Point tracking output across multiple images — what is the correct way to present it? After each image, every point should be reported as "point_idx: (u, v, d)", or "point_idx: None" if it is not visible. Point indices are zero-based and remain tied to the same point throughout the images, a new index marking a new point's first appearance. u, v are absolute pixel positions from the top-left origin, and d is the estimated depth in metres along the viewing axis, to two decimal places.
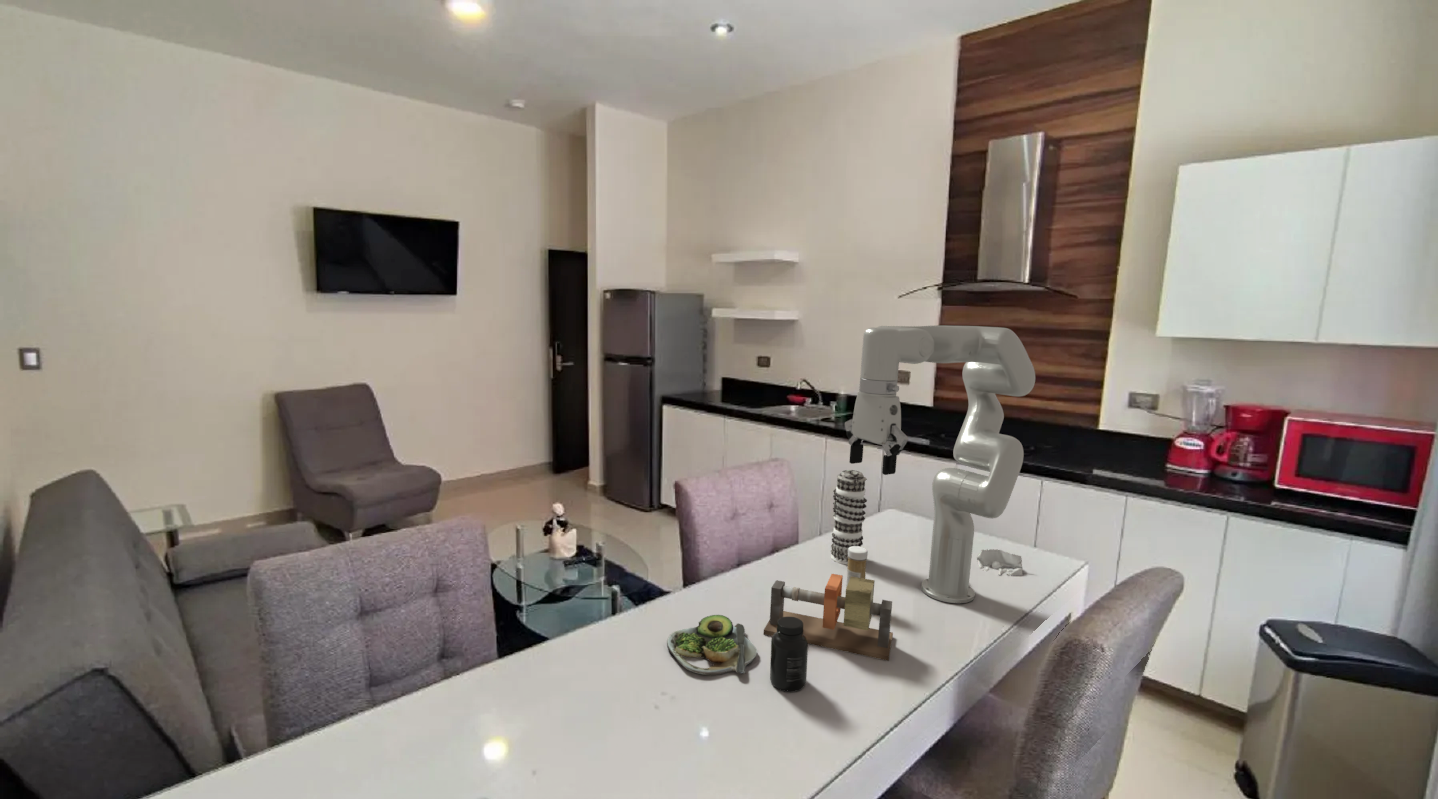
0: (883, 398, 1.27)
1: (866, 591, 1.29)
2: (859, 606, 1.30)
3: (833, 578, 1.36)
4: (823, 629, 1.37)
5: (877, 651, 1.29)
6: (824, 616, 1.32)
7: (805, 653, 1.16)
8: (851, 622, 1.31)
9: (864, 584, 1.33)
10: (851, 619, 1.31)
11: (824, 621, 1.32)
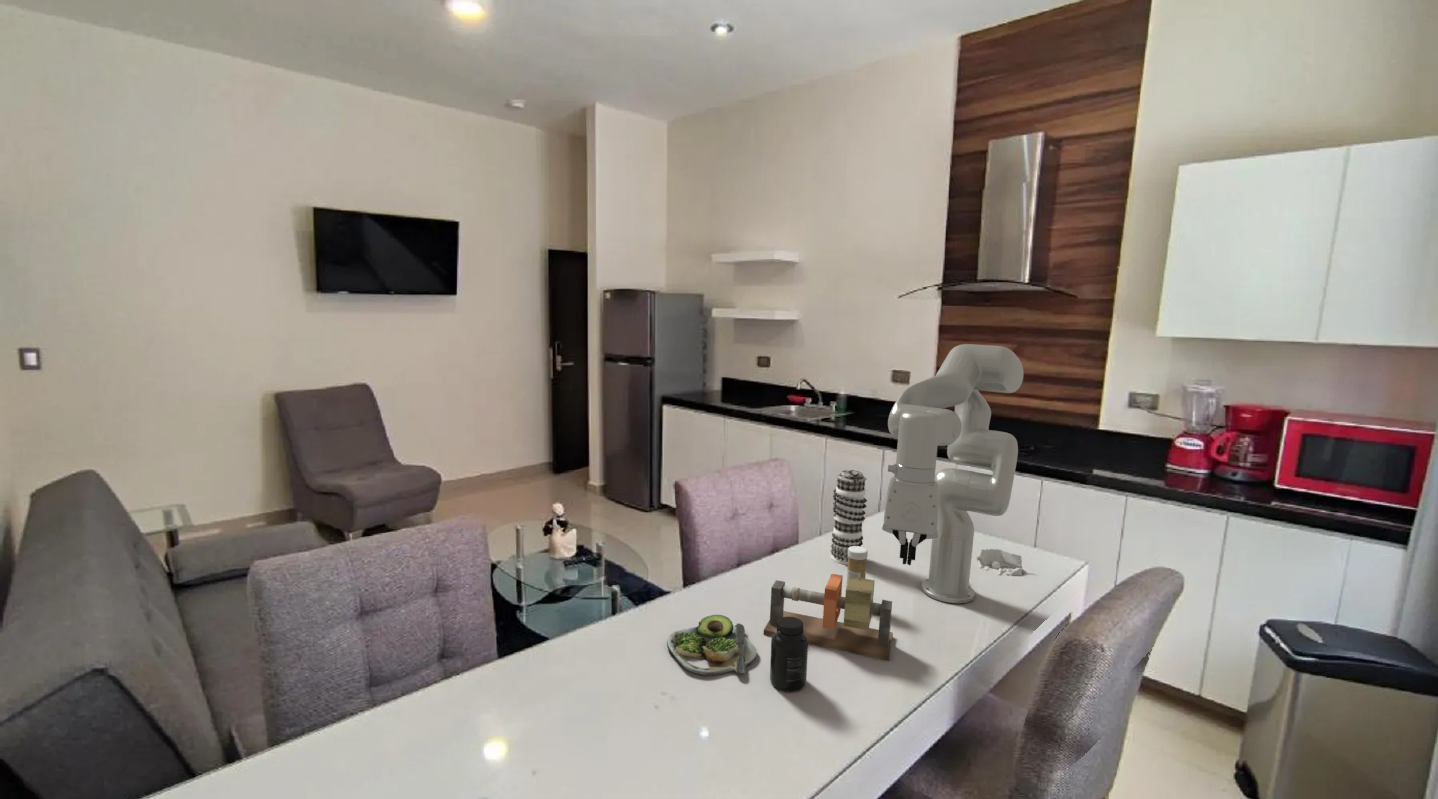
0: None
1: (866, 591, 1.29)
2: (859, 606, 1.30)
3: (833, 578, 1.36)
4: (823, 629, 1.37)
5: (877, 651, 1.29)
6: (824, 616, 1.32)
7: (805, 653, 1.16)
8: (851, 622, 1.31)
9: (864, 584, 1.33)
10: (851, 619, 1.31)
11: (824, 621, 1.32)
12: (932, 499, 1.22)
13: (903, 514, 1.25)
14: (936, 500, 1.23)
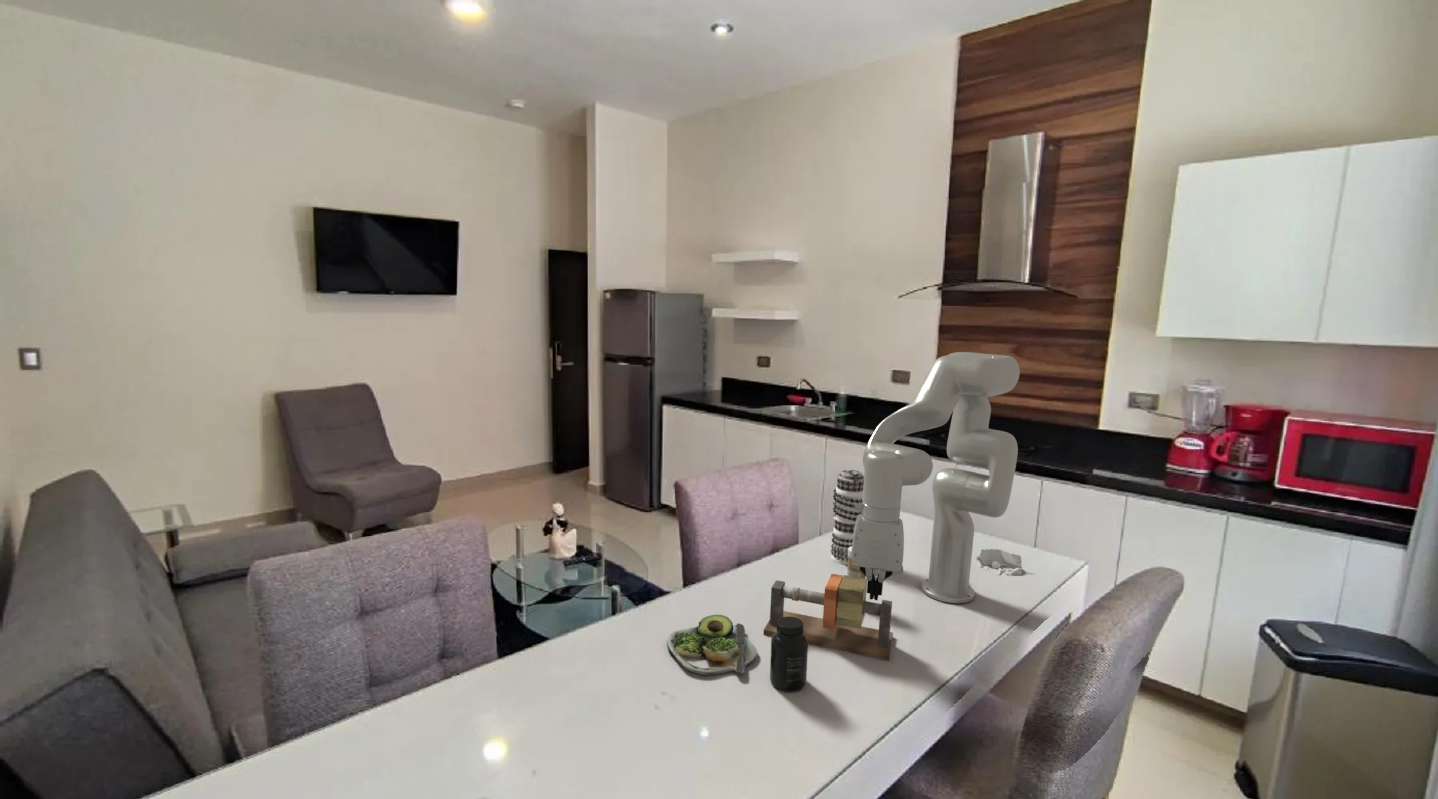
0: None
1: (859, 590, 1.30)
2: (852, 605, 1.30)
3: (833, 578, 1.36)
4: (823, 629, 1.37)
5: (877, 651, 1.29)
6: (824, 616, 1.32)
7: (805, 653, 1.16)
8: (844, 621, 1.31)
9: (857, 583, 1.33)
10: (844, 618, 1.31)
11: (824, 621, 1.32)
12: (897, 538, 1.26)
13: (869, 552, 1.28)
14: (901, 539, 1.26)
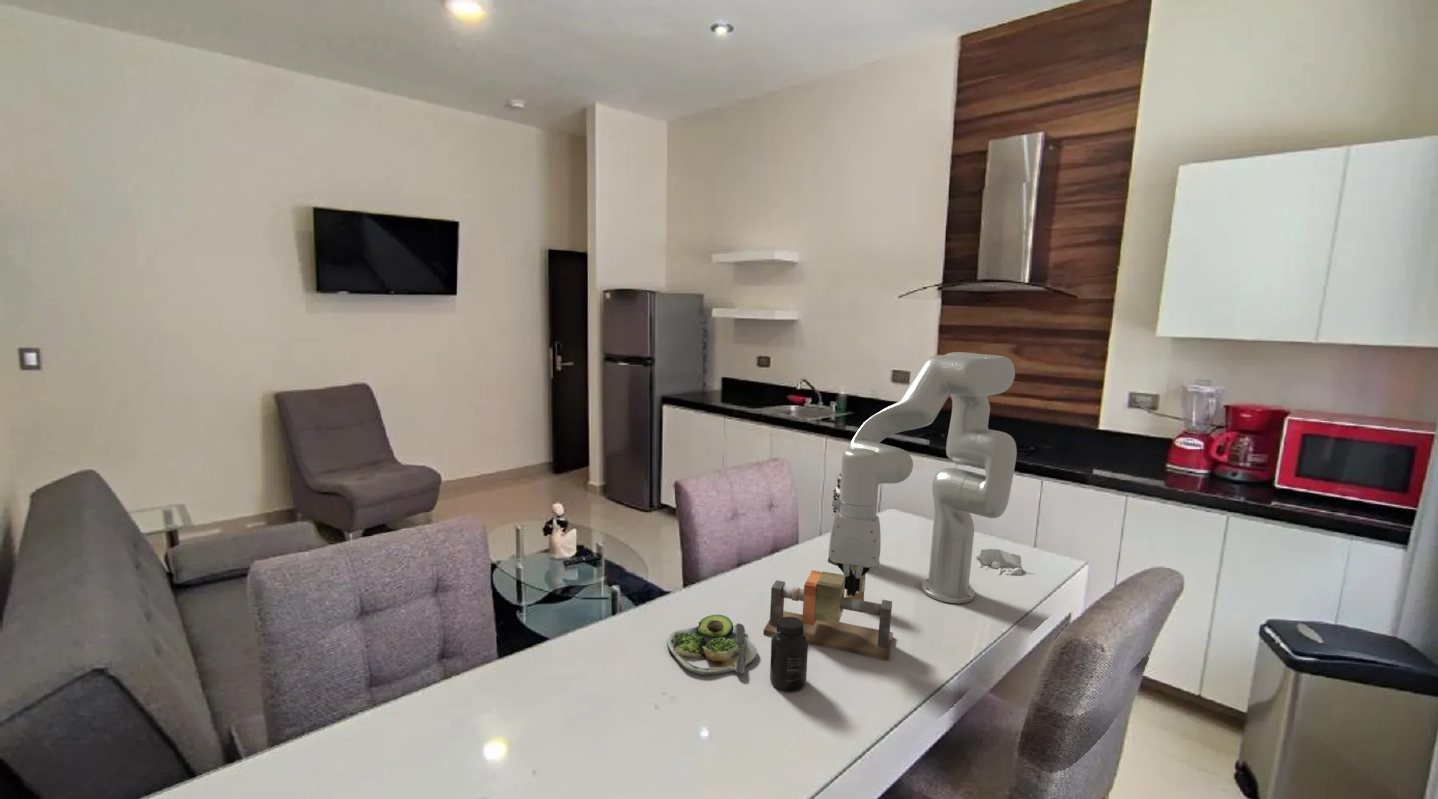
0: None
1: (836, 586, 1.31)
2: (829, 600, 1.32)
3: (813, 574, 1.38)
4: (823, 629, 1.37)
5: (877, 651, 1.29)
6: (804, 612, 1.33)
7: (805, 653, 1.16)
8: (822, 616, 1.33)
9: (835, 579, 1.35)
10: (822, 613, 1.33)
11: (804, 617, 1.33)
12: (873, 534, 1.28)
13: (846, 548, 1.30)
14: (877, 535, 1.28)
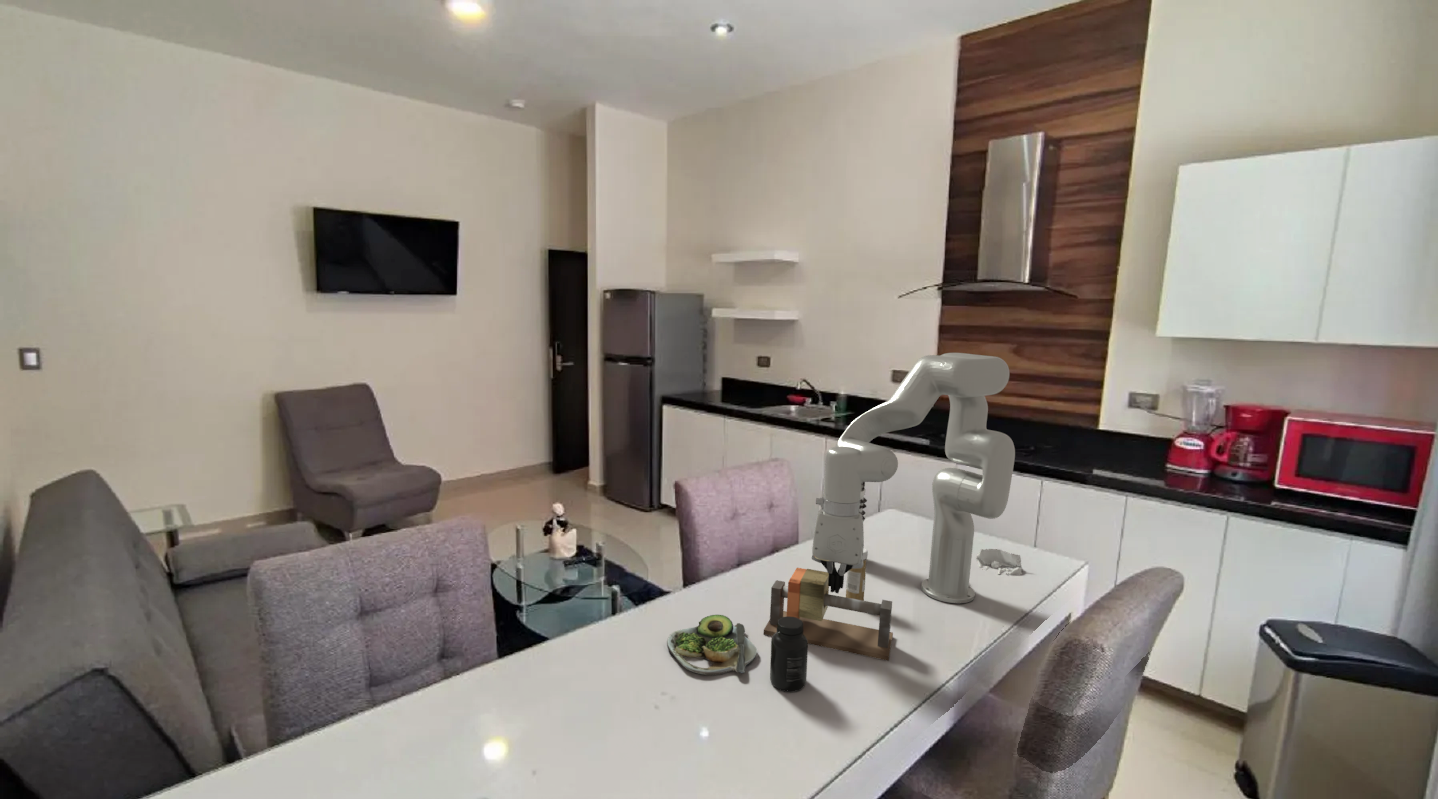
0: None
1: (820, 583, 1.32)
2: (813, 597, 1.33)
3: (798, 571, 1.39)
4: (823, 629, 1.37)
5: (877, 651, 1.29)
6: (788, 609, 1.34)
7: (805, 653, 1.16)
8: (805, 613, 1.34)
9: (819, 576, 1.36)
10: (805, 610, 1.34)
11: (788, 614, 1.35)
12: (856, 532, 1.29)
13: (829, 545, 1.31)
14: (859, 532, 1.29)
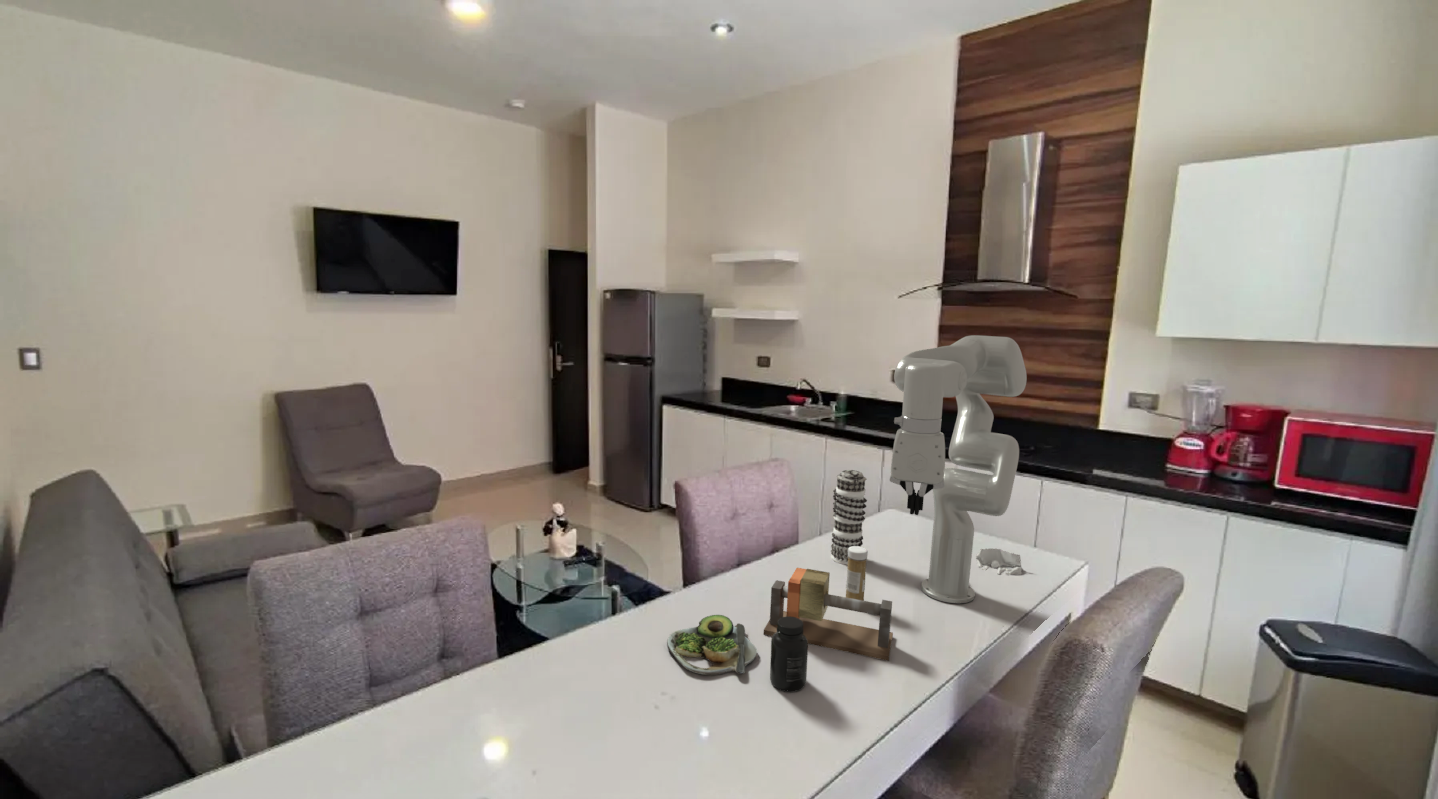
0: None
1: (820, 583, 1.33)
2: (813, 597, 1.33)
3: (798, 571, 1.39)
4: (823, 629, 1.37)
5: (877, 651, 1.29)
6: (788, 609, 1.34)
7: (805, 653, 1.16)
8: (805, 613, 1.34)
9: (819, 576, 1.36)
10: (805, 610, 1.34)
11: (788, 614, 1.35)
12: (938, 449, 1.24)
13: (909, 465, 1.26)
14: (942, 450, 1.24)
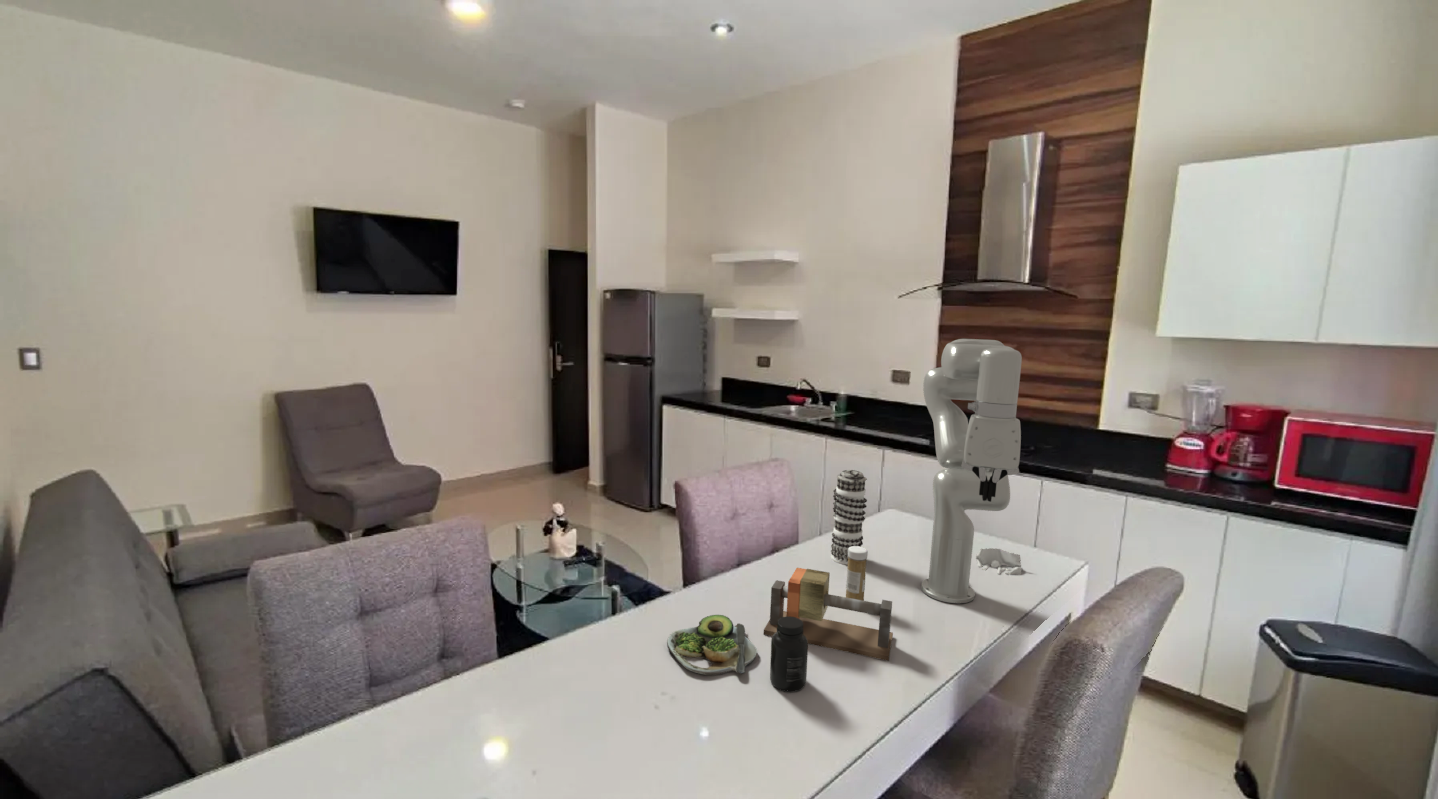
0: None
1: (820, 583, 1.33)
2: (813, 597, 1.33)
3: (798, 571, 1.39)
4: (823, 629, 1.37)
5: (877, 651, 1.29)
6: (788, 609, 1.34)
7: (805, 653, 1.16)
8: (805, 613, 1.34)
9: (819, 576, 1.36)
10: (805, 610, 1.34)
11: (788, 614, 1.35)
12: (1015, 434, 1.24)
13: (985, 450, 1.26)
14: (1019, 435, 1.24)
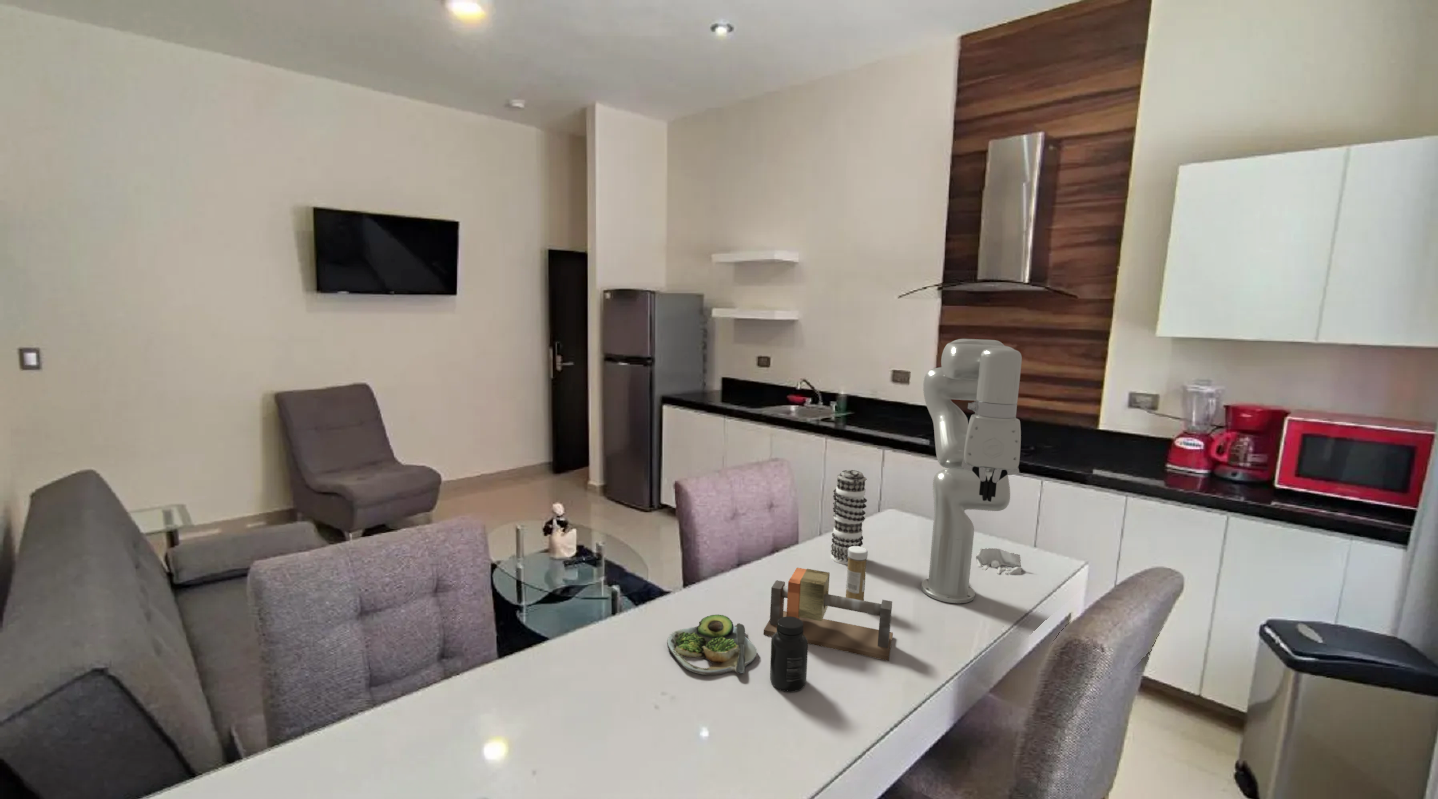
0: None
1: (820, 583, 1.33)
2: (813, 597, 1.33)
3: (798, 571, 1.39)
4: (823, 629, 1.37)
5: (877, 651, 1.29)
6: (788, 609, 1.34)
7: (805, 653, 1.16)
8: (805, 613, 1.34)
9: (819, 576, 1.36)
10: (805, 610, 1.34)
11: (788, 614, 1.35)
12: (1015, 434, 1.24)
13: (985, 450, 1.26)
14: (1019, 435, 1.24)
